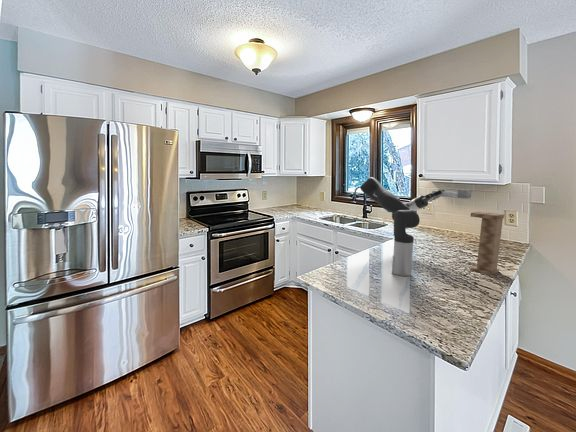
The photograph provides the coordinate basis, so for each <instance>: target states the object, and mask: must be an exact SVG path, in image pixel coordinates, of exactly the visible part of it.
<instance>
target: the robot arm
mask: <svg viewBox="0 0 576 432" xmlns="http://www.w3.org/2000/svg"><path fill="white" fill-rule="evenodd" d="M360 190H361V191H362V193H363V194H365V195H366V196H367V197H368V198H370V199H371V200H372V201H374V202H375V203H376V204H378V205H379V206H380V207H382V208H383V209H384V210H385V211H386V212H388V213H391V219H392V220H393V236H394V237H393V238H394V239H393V240H394V242H393V253H392V254H393V255H392V261H391V262H392V264H391V274H393V275H395V276H396V275H397V276H400V277H409V276H411V275H412V267H413V252H414V239H415V238H414V235H411V234H409V233H407V232H406V231H407V230H406V229H412V228H416V227H418V226H419V224H420V216H419V214H418V213H417V211H419V210H421V209H424V208H426V207H428V205H429V203H431V202H433V201H435V200H437V199H440V198H441V197H440V196H437V195H439V194H441V193H442V192H441V191H446V190H445V189H443V190H441V189H438V190H436V191H437V192H435V193H432V192H431V193H428V194H426V195H419V196H416V197H415V198H413V199H412V200H410V201H407V202H406V203H404V202H402V201H401V200H400V199H399V198H398V197H396V195H394V194H393V192H391V191H390V190H388V189H386V187H385V186H384V185H382V184H381V182H380V181H378V179H376V178H375V177H372V176H370V177H368V178H367V179H366V180H365V181H364V182H363V183H362V184H361V185H360ZM375 193H376V194H375Z"/></svg>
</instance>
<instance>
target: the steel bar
mask: <svg viewBox="0 0 576 432" xmlns="http://www.w3.org/2000/svg"><path fill="white" fill-rule="evenodd" d="M431 191H432V192H431V193H435V192H437V191H438V190H431ZM441 192H442V193H441V194H439V195H437V196H440V197H439V198H441V197H443V198H454V199H455V198H456V199H467V200H468V199H472V192H473V191H472V189H457V191H446V190H445V191H442V190H441Z"/></svg>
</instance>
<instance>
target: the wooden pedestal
mask: <svg viewBox="0 0 576 432" xmlns="http://www.w3.org/2000/svg"><path fill="white" fill-rule="evenodd" d="M470 217H472V218H479V219H481V224H480V235H479V241H478V242H479V244H478V252H477V259H476V260H477V261H476V264H475V265H472V266H471V267H469V270H470V271H471V272H472V271H473V272H478V273H481V274H484V275H489V276H492V275H494V274H496V273H499V271H500V269H499V268H498V263H499V255H500V254H499V253H500V246H501V239H502V238H501V237H502V228H503V221H504V219H505V214H504V213H494V212H486V211H475V212H471V213H470Z"/></svg>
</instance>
